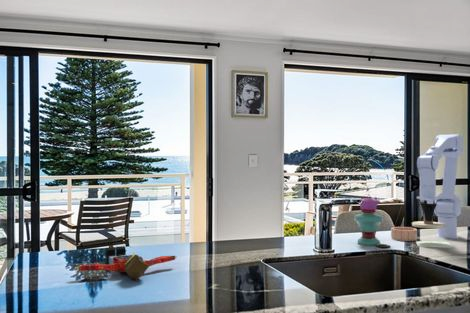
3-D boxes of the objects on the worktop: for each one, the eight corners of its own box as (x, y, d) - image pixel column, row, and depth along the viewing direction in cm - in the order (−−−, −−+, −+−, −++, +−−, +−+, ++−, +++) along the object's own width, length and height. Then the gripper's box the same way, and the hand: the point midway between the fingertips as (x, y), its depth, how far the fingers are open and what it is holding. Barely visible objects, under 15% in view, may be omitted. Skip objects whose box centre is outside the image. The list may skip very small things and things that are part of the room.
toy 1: (67, 275, 145) (82, 290, 119) (66, 251, 146) (81, 260, 119) (159, 265, 159) (191, 275, 133) (159, 242, 160) (190, 249, 134)
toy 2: (386, 242, 182) (385, 198, 182) (378, 247, 172) (378, 200, 173) (359, 240, 187) (359, 196, 187) (351, 244, 178) (350, 199, 178)
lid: (410, 223, 185) (410, 211, 185) (442, 224, 182) (442, 211, 182) (413, 227, 174) (413, 214, 174) (447, 228, 170) (447, 215, 170)
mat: (415, 241, 183) (415, 240, 183) (447, 243, 180) (447, 241, 180) (418, 247, 172) (418, 246, 172) (452, 249, 168) (452, 247, 168)
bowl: (390, 237, 195) (390, 226, 195) (415, 238, 192) (415, 227, 192) (391, 241, 185) (391, 230, 185) (418, 242, 182) (418, 231, 182)
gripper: (414, 184, 186) (415, 217, 186) (418, 186, 172) (419, 222, 172) (433, 184, 184) (433, 218, 184) (438, 187, 170) (439, 223, 170)
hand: (428, 220), depth 178 cm, fingers closed on lid, 3 cm apart
